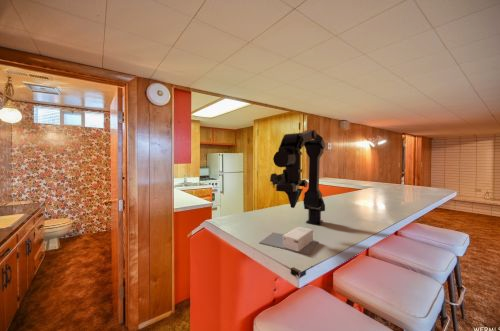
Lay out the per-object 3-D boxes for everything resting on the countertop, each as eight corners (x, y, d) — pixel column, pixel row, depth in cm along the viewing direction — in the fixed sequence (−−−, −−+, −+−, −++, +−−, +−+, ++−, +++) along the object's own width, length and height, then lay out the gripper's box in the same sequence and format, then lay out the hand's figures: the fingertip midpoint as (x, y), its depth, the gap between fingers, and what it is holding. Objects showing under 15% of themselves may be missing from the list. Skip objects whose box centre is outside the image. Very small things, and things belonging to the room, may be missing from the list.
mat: (273, 233, 85) (273, 232, 85) (318, 241, 75) (318, 241, 75) (259, 243, 74) (259, 242, 74) (309, 254, 65) (309, 254, 65)
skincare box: (298, 236, 80) (281, 248, 70) (298, 225, 79) (281, 235, 70) (314, 240, 76) (298, 253, 66) (313, 228, 75) (298, 239, 66)
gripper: (282, 165, 90) (282, 201, 91) (262, 167, 74) (262, 210, 75) (307, 166, 84) (307, 204, 85) (292, 167, 68) (292, 214, 69)
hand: (292, 207), depth 78 cm, fingers closed
